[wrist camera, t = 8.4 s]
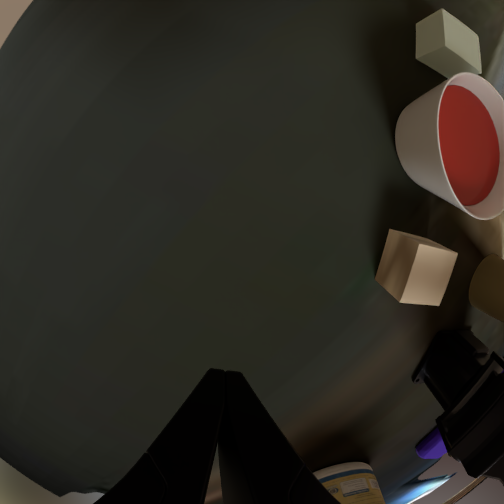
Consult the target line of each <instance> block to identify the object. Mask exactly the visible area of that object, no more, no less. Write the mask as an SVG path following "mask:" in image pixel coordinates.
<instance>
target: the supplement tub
mask: <svg viewBox="0 0 504 504" xmlns="http://www.w3.org/2000/svg"><path fill="white" fill-rule="evenodd" d="M313 474H314V475H315V476H316V478H317V479H318V480H319V481H320V482H321V483H322V485H323V486H324V487H325V488H326V489H327V490H328V491H329V492H330V493H331V494H332V495H333V496H334V497H335V498H336V499H337V500H338V501H339V502H340V503H341V504H385V502H384V499H383V496H382V494H381V491H380V488H379V486H378V483H377V481H376V478H375V476H374V473H373V470H372V468H371V467H370V466H369V465H368V464H366V463H363V462H347V463H342V464H338V465H334V466H330V467H327V468H324V469H321V470H318V471H316V472H313Z"/></svg>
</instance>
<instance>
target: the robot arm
mask: <svg viewBox="0 0 504 504" xmlns="http://www.w3.org/2000/svg"><path fill="white" fill-rule="evenodd" d="M488 352H489V349H488V348H487V347H486V346H485V345H484V344H483V343H482V342H481V341H480V340H479V339H478V338H476V337H475V336H474V335H473V332H472V331H469V330H455V331H440V332H438V334H437V335H436V337H435V339H434V341H433V343H432V345H431V347H430V349H429V351H428V352H427V354H426V356H425V358H424V360H423V362H422V363H421V365H420V367H419V369H418V370H417V372H416V374H415V376H414V377H413V379H412V381H413V382H414V384H418V383H425V384H426V385H427V387H428V388H429V390H430V391H431V392H432V394H433V395H434V396H435V398H436V399H437V401H438V402H439V403H440V405H441V406H442V408H443V409H444V410H445V412H444V413H443V414H442V415H441V416H439V417H438V418H437V419H436V423H437V425H438V426H437V427H438V430H439V432H440V435H441V437H442V440H443V442H444V445H445V448H446V450H447V452H448V455H449V456H450V457H453V458H454V459H455V460H457V461H458V462H461V463H462V464H463V466H464V468H465V470H466V472H467V474H468V475H469V476H471V477H474V478H479V477H480V476H484V477H489V478H494V479H498V480H500V481H501V482H502V484H503V486H504V372H503V373H501V372H502V371H503V370H504V359H503V358H502V357H501V356H499V355H498V354H497V353H496V352H494V351H493V352H492V354H491V355H490V356H489V355H488ZM217 442H218V456H219V467H220V477H221V487H222V496H223V504H341V503H340V502H339V501H338V500H337V499H336V498H335V497H334V496H333V495H332V494H331V493H330V492H329V491H328V490H327V489H326V488H325V487H324V486H323V485H322V483H321V482H320V481H319V480H318V479H317V478H316V476H315V475H314V474H313V473H312V471H311V470H310V469H309V467H308V466H305V463H304V461H303V460H302V459H301V457H300V456H299V455H298V453H297V452H296V451H295V449H294V448H293V447H292V445H291V444H290V443H289V441H288V440H287V439H286V437H285V436H284V434H283V433H282V432H281V430H280V429H279V427H278V426H277V425H276V423H275V422H274V420H273V419H272V418H271V416H270V415H269V413H268V412H267V410H266V409H265V407H264V406H263V404H262V403H261V401H260V400H259V399H258V397H257V396H256V394H255V393H254V391H253V390H252V388H251V386H250V385H249V383H248V382H247V380H246V379H245V377H244V376H243V374H242V373H241V372H237V371H229V370H228V371H226V372H225V371H224V370H221V369H214V368H210V369H209V370H208V371H207V372H206V374H205V375H204V377H203V378H202V379H201V381H200V382H199V383H198V385H197V386H196V387H195V389H194V390H193V391H192V393H191V394H190V395H189V397H188V398H187V399H186V401H185V402H184V403H183V404H182V406H181V407H180V408H179V410H178V411H177V412H176V414H175V415H174V416H173V418H172V419H171V420H170V421H169V423H168V424H167V425H166V427H165V428H164V429H163V430H162V432H161V433H160V434H159V435H158V437H157V438H156V439H155V441H154V442H153V443H152V444H151V446H150V447H149V448H148V449H147V451H146V452H147V453H144V454H143V455H142V457H141V458H140V459H139V460H138V461H137V463H136V464H135V465H134V466H133V467H132V468H131V469H130V471H129V472H128V473H127V474H126V475H125V476H124V477H123V478H122V479H121V480H120V481H119V482H118V483H117V484H116V485H115V486H114V487H113V488H111V489H110V490H109V491H108V492H107V493H106V494H105V495H103V496H102V497H101V498H100V499H99V500H97V501H96V502H95V503H94V504H204V502H205V497H206V493H207V488H208V484H209V479H210V475H211V470H212V465H213V461H214V456H215V452H216V447H217Z"/></svg>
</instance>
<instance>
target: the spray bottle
mask: <svg viewBox="0 0 504 504" xmlns="http://www.w3.org/2000/svg"><path fill="white" fill-rule="evenodd" d="M503 372H504V370H503V371H502V372H501V373H503ZM416 452H417V454H418V456H419V457H421V458H423V459H433V458H439V457H441V456H442V455H443V454H445V453H446V452H447V450H446V448H445V445H444V442H443V440H442V437H441V435H440V432H439V430H438V427H437V428H436V429H435V430H434V431H432V432H431V433H430V434H429V435H428V436H427V437H426V438H425V439H424V440H423V441H422V442H420V444H419V445H418V446H417V447H416Z"/></svg>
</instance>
